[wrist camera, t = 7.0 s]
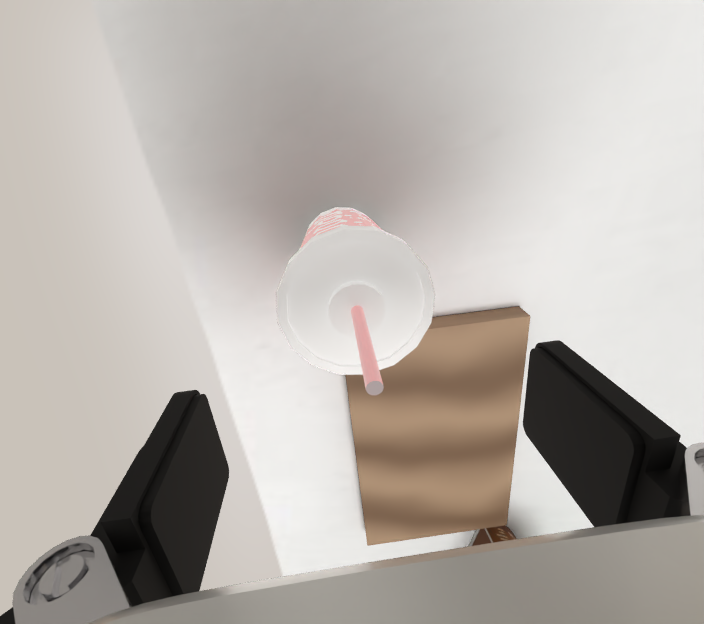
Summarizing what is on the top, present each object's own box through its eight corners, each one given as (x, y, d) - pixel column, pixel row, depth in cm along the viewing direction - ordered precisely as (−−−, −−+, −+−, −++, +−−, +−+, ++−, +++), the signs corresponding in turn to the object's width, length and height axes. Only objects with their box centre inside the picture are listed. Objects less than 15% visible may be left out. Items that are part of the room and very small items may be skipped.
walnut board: (339, 329, 25) (341, 340, 24) (518, 306, 25) (530, 316, 24) (365, 528, 33) (367, 545, 32) (499, 509, 34) (506, 525, 32)
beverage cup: (387, 184, 21) (490, 256, 9) (398, 285, 24) (489, 453, 11) (279, 202, 21) (224, 302, 9) (302, 301, 24) (285, 489, 11)
